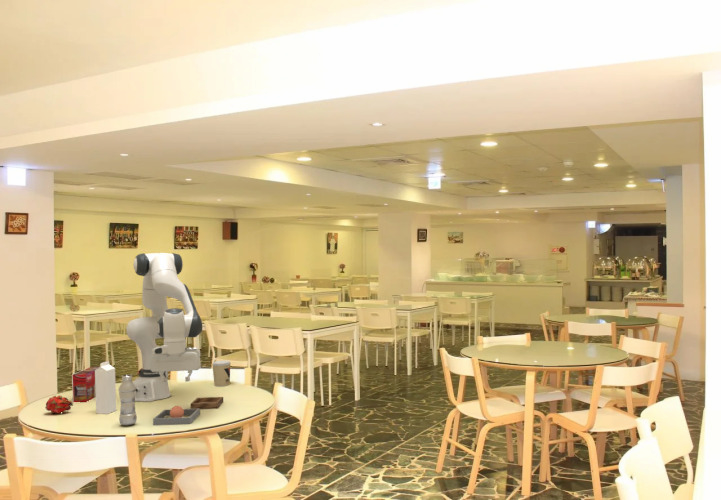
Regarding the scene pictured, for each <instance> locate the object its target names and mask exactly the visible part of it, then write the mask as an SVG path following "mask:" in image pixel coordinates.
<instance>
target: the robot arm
mask: <svg viewBox="0 0 721 500" xmlns="http://www.w3.org/2000/svg"><path fill="white" fill-rule="evenodd" d="M132 265H133V270H134V271H135V273H136V275H137V276H141V277H142V279H143V280H142V291H141V294H142V295H141V297H142V298H141V303H142V305H143V306H144V307H145V308H146V309H148V310H151V312H152V315H151V316H145V317H144V316H143V317H138V318H135V319H132V320H129V321H128V323H127V324H126V328H125V329H126V335H127V336H128V338H129V339H130V340H131V341H133V342H134V343H135V344H136V345H137V347H138V348H139V350H140V353H141V361H142V364H141V365H142V367H141V368H140V369H138V371H137V374H138V377H137V378H135V379H134V380H133V381H132V382H133V383H134V384H135V386H136V393H135V402H153V401H157V400H162V399H167V398H169V397H171V396H172V395H171V391H170V387H169V382H168V381H169V380H168V378H169V372H180V371H181V372H184V371H187V376H185V378H184V379H185V380H184V381H185V382H186V383H187V382H190V381H191V376H192V373H193V371H199V370H200V369H201V368H202V363H201V362H202V361H201V357H202V356H201V350H200V349H199V348H197V347H187V339H186V338H197V337H198V336H199V335H200V334H201V333H202V331H203V326H204V325H203V320H202V319H201V316H200V314H199V313H198V309H197V308H196V305H195V302H194V300H193V297H192V295H191V292H190V289H189V287H188V285H186V284H185V283H183V282H182V281H181V280H180V278H179V277H178V275H180V273H182V270H183V267H184V262H183V258H182V256H181V255H180V254H178V253H175V252H172V253H169V252H168V253H167V252H151V253H144V252H143V253H139V254H137V255H136V256H135V258H134V261H133V264H132ZM167 298H172V299H176V300H177V301H180V302H181V303H182V306H183V309H184V310H182V309H180V308H175V307H174V308H168V307H169V306H168V302H167ZM184 311H185V313H186V314H184ZM156 339H163V344H162V345H157V343H156Z"/></svg>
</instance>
